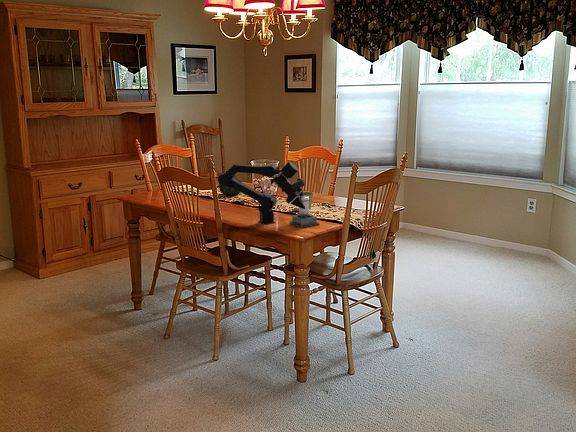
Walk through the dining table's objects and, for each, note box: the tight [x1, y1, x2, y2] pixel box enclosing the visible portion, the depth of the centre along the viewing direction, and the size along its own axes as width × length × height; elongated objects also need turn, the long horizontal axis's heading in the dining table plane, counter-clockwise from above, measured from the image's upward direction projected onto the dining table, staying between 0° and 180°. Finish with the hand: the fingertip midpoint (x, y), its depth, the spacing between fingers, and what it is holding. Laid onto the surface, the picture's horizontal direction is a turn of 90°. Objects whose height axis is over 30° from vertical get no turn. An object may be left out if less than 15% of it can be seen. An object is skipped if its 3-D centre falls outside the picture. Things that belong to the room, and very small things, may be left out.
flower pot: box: [303, 191, 315, 210], centre depth 331 cm, size 9×9×9 cm
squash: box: [218, 174, 243, 196], centre depth 371 cm, size 14×15×15 cm
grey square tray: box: [289, 213, 320, 229], centre depth 296 cm, size 11×11×4 cm
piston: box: [298, 196, 310, 219], centre depth 295 cm, size 5×5×13 cm
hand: (306, 206), depth 294 cm, fingers open, 9 cm apart
